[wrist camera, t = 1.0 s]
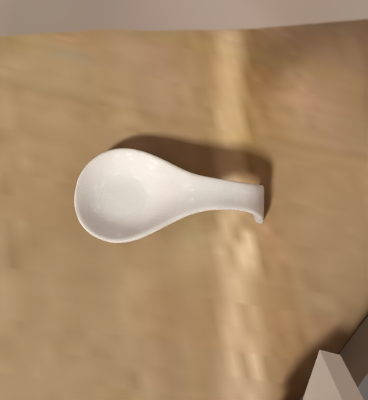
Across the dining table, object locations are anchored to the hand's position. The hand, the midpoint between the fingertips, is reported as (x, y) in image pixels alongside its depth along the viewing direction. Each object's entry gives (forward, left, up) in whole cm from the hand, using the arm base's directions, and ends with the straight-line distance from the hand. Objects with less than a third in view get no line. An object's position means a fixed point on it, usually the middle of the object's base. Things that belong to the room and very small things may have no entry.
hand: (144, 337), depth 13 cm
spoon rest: (+10, -5, -30) cm, 32 cm away
